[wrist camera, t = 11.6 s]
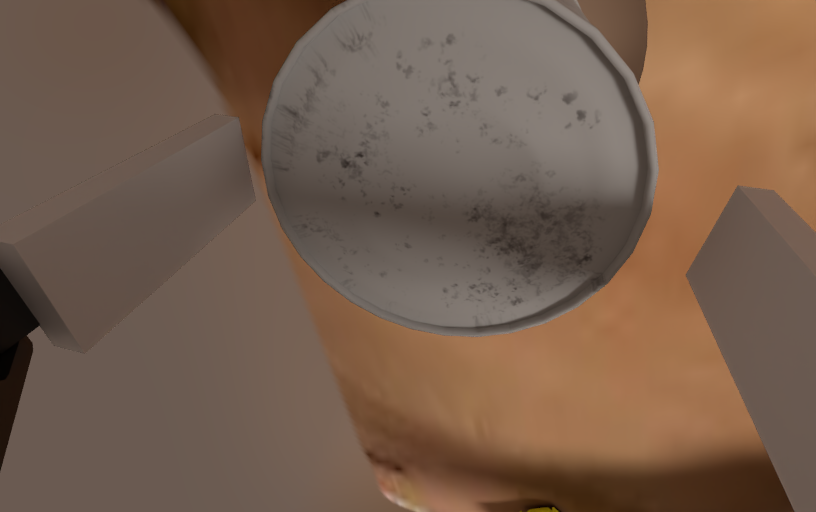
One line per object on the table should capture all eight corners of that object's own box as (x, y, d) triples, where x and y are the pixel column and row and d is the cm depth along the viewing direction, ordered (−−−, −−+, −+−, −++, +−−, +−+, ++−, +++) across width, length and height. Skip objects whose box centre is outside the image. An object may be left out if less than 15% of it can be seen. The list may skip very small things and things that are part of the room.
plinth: (688, -118, 18) (732, -133, 14) (584, 186, 27) (593, 227, 23) (361, -127, 20) (321, -142, 16) (367, 156, 29) (343, 189, 25)
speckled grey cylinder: (439, 192, 24) (381, 359, 15) (349, 29, 20) (185, 113, 10) (616, 123, 20) (698, 296, 10) (548, -106, 15) (579, -173, 6)
